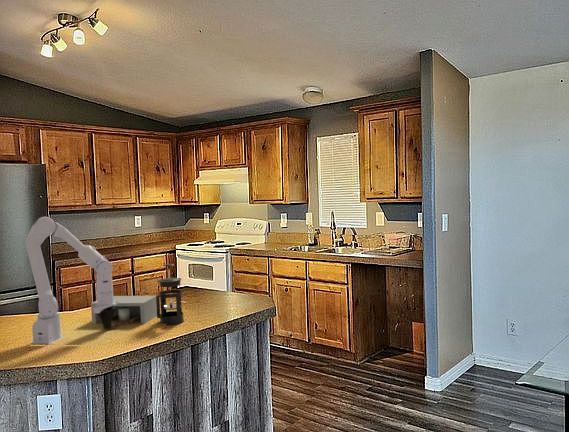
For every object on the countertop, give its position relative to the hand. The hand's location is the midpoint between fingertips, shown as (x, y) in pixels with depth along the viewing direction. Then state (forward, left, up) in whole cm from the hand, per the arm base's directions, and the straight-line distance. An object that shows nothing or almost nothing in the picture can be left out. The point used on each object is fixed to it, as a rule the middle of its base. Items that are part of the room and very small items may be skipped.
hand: (107, 327), depth 194 cm
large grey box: (+15, 0, -1) cm, 15 cm away
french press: (+13, -20, -2) cm, 24 cm away
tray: (+9, 0, -1) cm, 9 cm away
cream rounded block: (+14, 0, -1) cm, 14 cm away
